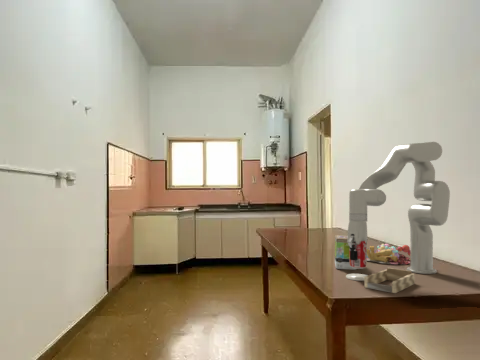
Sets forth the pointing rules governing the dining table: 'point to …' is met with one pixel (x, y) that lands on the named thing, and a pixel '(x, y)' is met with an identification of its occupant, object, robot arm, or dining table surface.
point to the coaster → (356, 277)
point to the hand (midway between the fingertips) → (357, 258)
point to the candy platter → (388, 254)
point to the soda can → (360, 256)
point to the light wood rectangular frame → (398, 277)
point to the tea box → (342, 253)
